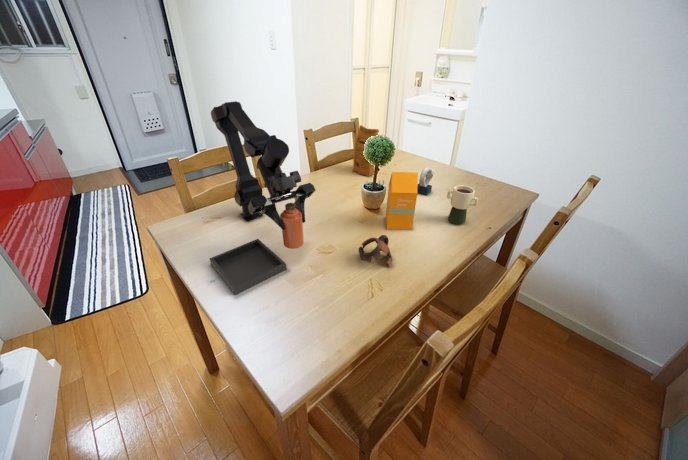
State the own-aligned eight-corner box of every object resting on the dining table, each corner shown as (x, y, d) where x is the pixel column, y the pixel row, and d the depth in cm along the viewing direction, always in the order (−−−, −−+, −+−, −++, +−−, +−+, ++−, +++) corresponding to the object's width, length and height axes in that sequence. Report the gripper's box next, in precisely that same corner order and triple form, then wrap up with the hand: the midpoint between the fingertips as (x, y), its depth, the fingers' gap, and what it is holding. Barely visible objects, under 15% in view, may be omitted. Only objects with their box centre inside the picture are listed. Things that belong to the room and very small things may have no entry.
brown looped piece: (389, 275, 88) (376, 256, 84) (363, 275, 94) (350, 257, 90) (401, 245, 95) (390, 226, 91) (376, 247, 101) (364, 229, 97)
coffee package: (363, 165, 159) (365, 122, 147) (381, 172, 151) (384, 127, 139) (349, 170, 153) (350, 126, 141) (367, 178, 145) (370, 131, 133)
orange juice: (385, 217, 114) (390, 167, 103) (408, 218, 114) (416, 168, 103) (387, 229, 108) (392, 176, 97) (411, 229, 107) (420, 177, 96)
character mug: (474, 222, 112) (483, 190, 105) (467, 230, 108) (476, 197, 101) (445, 212, 118) (452, 182, 111) (438, 220, 113) (445, 188, 106)
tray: (211, 265, 90) (209, 258, 88) (259, 245, 98) (257, 238, 97) (236, 296, 79) (234, 288, 78) (286, 271, 88) (286, 263, 86)
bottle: (279, 245, 87) (274, 207, 80) (291, 234, 92) (287, 198, 85) (296, 251, 85) (293, 212, 78) (307, 240, 90) (305, 202, 83)
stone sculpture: (432, 190, 135) (437, 167, 129) (425, 197, 129) (429, 172, 123) (421, 187, 137) (424, 164, 131) (413, 193, 132) (416, 169, 126)
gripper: (244, 169, 74) (268, 228, 72) (310, 155, 83) (333, 207, 81) (238, 187, 83) (260, 239, 82) (298, 173, 92) (318, 219, 91)
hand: (294, 225), depth 84 cm, fingers closed on bottle, 6 cm apart
